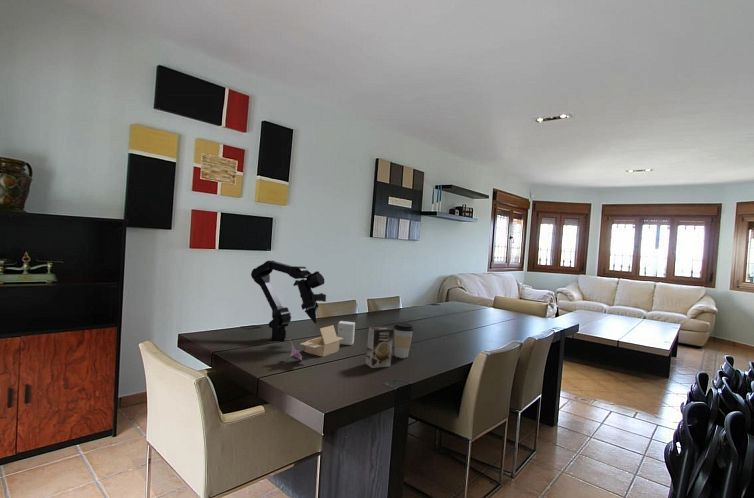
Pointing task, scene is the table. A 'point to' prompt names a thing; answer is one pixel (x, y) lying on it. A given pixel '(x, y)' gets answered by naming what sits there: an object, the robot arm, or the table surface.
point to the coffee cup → (402, 339)
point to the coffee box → (379, 347)
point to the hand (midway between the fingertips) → (315, 323)
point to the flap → (328, 334)
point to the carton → (321, 346)
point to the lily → (295, 353)
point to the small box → (346, 332)
